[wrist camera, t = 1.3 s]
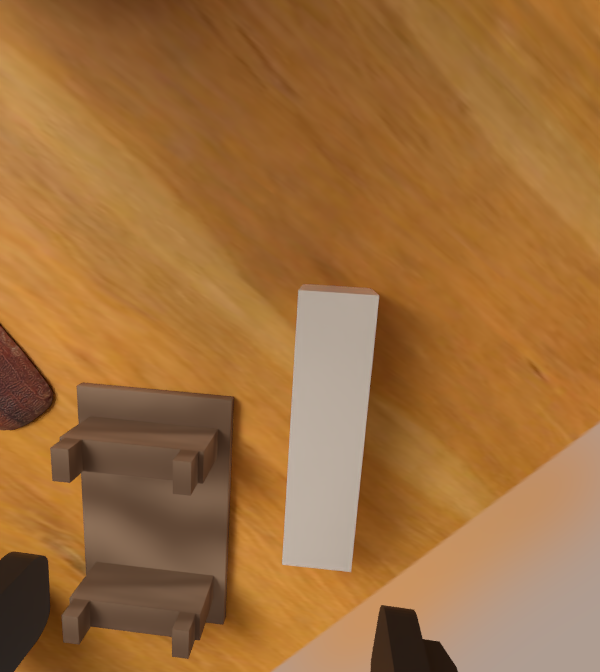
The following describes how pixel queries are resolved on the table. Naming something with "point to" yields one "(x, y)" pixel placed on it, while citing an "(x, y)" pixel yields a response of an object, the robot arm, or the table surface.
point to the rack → (150, 510)
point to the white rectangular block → (328, 423)
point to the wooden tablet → (20, 387)
